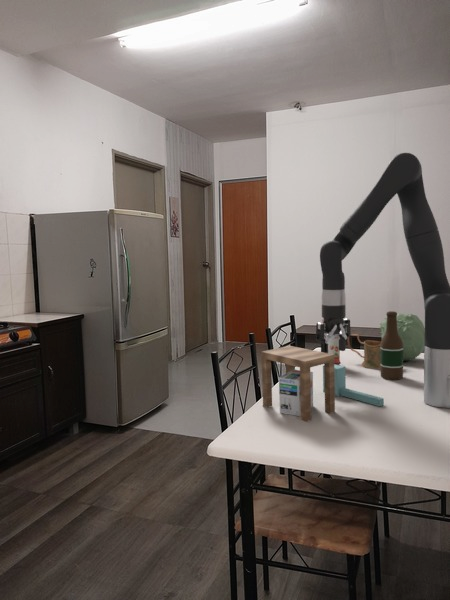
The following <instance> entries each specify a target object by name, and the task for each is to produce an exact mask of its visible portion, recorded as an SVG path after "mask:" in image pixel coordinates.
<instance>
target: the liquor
mask: <svg viewBox="0 0 450 600" xmlns="http://www.w3.org/2000/svg"><path fill="white" fill-rule="evenodd" d="M321 321H322V322H321V323H323V322H324V318H323V319H321ZM326 334H327V332H326ZM325 339H326V337H325ZM339 339H340V338H339V337H338V335H337V334H335V335H332V337H331V338H330V339H329V341H328V353H329V354H334V364H335V365H341V363H342V362H341V360H340V358H341V356H340V354H341V352H340V350H339Z"/></svg>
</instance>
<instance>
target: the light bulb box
mask: <svg viewBox="0 0 450 600" xmlns="http://www.w3.org/2000/svg"><path fill="white" fill-rule="evenodd" d="M310 382H311V408H313V407H314V372H313V371H310ZM278 386H279V387H278V389H279V393H278V394H279V396H278V397H279V413H281V414H286V415H291V416H297V417H301V401H300V369H295V370H294V369H293V370H292V371H290V372H288V373H286V372H285V373H284V374H283V375H281V376H279V377H278Z"/></svg>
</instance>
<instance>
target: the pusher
mask: <svg viewBox="0 0 450 600" xmlns="http://www.w3.org/2000/svg"><path fill="white" fill-rule="evenodd" d="M346 375H347V374H346V366H343V365H341V364H339V365H335V364H334V378H335V396H336V397H340V396H341V397H345V398H350V399H353V400H356V401H360V402H364V403H366V404H370V405H373V406H378V407H381V406H384V404H385V401H384V399H385V398H384V397H379V396H377V395H372V394H369V393H366V392H365V393H364V392H362V391H361V392H360V391H357V390H353V389H350V388H347V386H346V383H347V382H346V379H347V378H346ZM322 381H323V382H322V388H323V389H322V390H323V391H322V392H323V393H325V376H324V364H322Z"/></svg>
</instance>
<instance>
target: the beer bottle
mask: <svg viewBox="0 0 450 600" xmlns="http://www.w3.org/2000/svg"><path fill="white" fill-rule="evenodd" d="M397 313H398V312H397V311H387V312H386V313H385V314H386V317H387V325H386V333H385V335H384V337H383V338H382V337H381V341H380V342H381V346H380V369H379V370H380V377H381V378H382V379H383V380H389V381H400V380H401V379H403V377H404V361H403V342H402V339H401V338H400V336H399V335H398V331H397Z"/></svg>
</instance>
